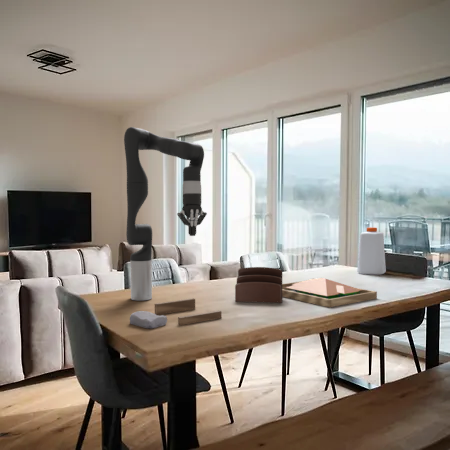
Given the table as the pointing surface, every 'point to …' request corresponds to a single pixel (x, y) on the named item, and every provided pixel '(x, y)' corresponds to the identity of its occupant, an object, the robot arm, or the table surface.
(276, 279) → the letter holder
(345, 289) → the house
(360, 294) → the wooden picture frame
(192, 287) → the table surface
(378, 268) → the plastic bottle
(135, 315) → the stone block
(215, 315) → the pair of wooden bars
